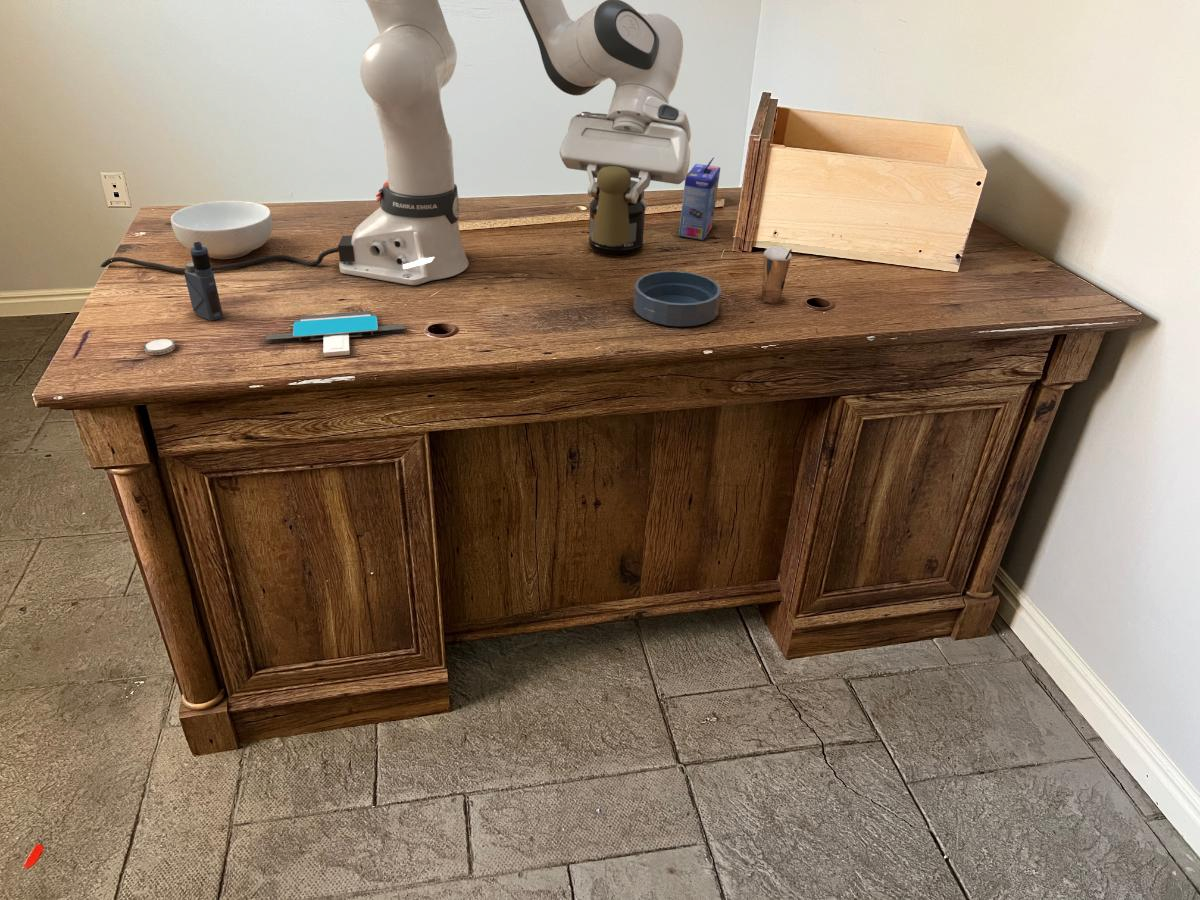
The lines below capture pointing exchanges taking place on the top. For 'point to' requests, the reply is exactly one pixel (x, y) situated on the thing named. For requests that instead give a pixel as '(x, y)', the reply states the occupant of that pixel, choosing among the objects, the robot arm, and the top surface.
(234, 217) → the cereal bowl
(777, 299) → the milkshake
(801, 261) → the top surface
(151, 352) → the white bottle cap
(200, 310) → the vaping device
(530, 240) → the top surface
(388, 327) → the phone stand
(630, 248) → the supplement container
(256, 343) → the top surface
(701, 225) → the ink cartridge box
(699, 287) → the serving bowl
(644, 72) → the robot arm
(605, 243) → the olive peg figure
